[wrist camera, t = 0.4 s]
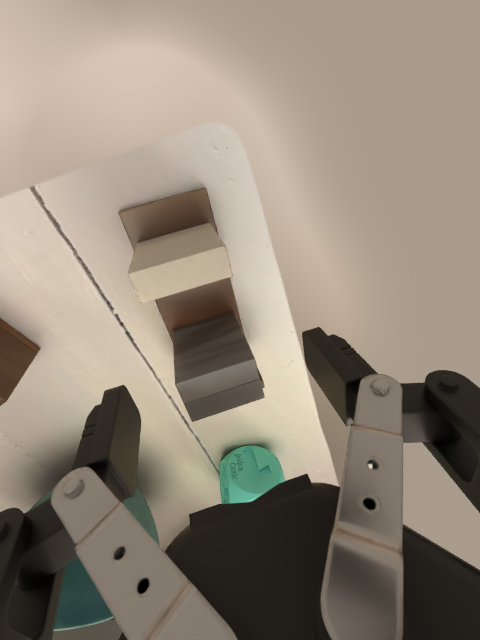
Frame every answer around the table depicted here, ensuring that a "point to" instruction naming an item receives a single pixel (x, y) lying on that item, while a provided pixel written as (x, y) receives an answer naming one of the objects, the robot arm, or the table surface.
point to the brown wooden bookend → (199, 317)
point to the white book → (178, 262)
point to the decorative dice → (248, 474)
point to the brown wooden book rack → (13, 358)
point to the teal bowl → (78, 588)
